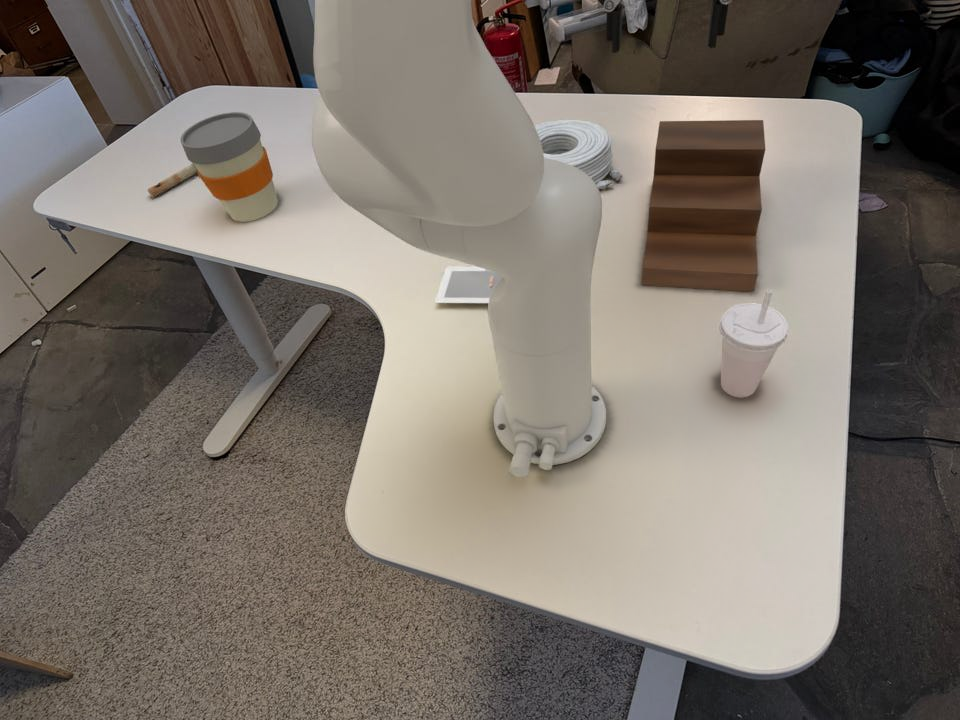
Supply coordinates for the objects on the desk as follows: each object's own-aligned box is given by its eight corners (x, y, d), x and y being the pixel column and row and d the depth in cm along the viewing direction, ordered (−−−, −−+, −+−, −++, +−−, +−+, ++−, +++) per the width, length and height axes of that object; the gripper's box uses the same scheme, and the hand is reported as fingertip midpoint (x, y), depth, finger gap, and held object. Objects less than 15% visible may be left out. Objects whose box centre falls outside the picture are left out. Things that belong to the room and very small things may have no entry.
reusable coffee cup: (255, 183, 116) (219, 107, 105) (301, 195, 111) (269, 116, 100) (206, 219, 110) (163, 142, 99) (253, 233, 104) (213, 153, 93)
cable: (627, 186, 98) (628, 151, 93) (523, 211, 97) (519, 177, 93) (592, 138, 110) (591, 105, 105) (499, 160, 109) (495, 128, 105)
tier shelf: (753, 292, 77) (771, 219, 69) (641, 285, 81) (645, 216, 73) (749, 188, 92) (763, 119, 85) (654, 187, 96) (659, 121, 88)
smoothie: (772, 409, 65) (804, 314, 55) (709, 405, 67) (729, 312, 56) (765, 365, 69) (794, 269, 59) (706, 362, 71) (725, 268, 60)
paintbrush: (237, 139, 124) (150, 190, 116) (243, 151, 126) (158, 202, 118) (227, 135, 126) (142, 184, 118) (234, 147, 128) (150, 196, 120)
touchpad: (543, 309, 81) (542, 297, 79) (435, 308, 84) (432, 296, 82) (548, 272, 86) (548, 260, 84) (447, 272, 89) (444, 260, 88)
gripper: (572, -146, 51) (576, 63, 63) (795, -176, 47) (753, 55, 59) (583, -160, 56) (585, 37, 68) (786, -188, 52) (749, 28, 64)
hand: (663, 45), depth 64 cm, fingers open, 9 cm apart
